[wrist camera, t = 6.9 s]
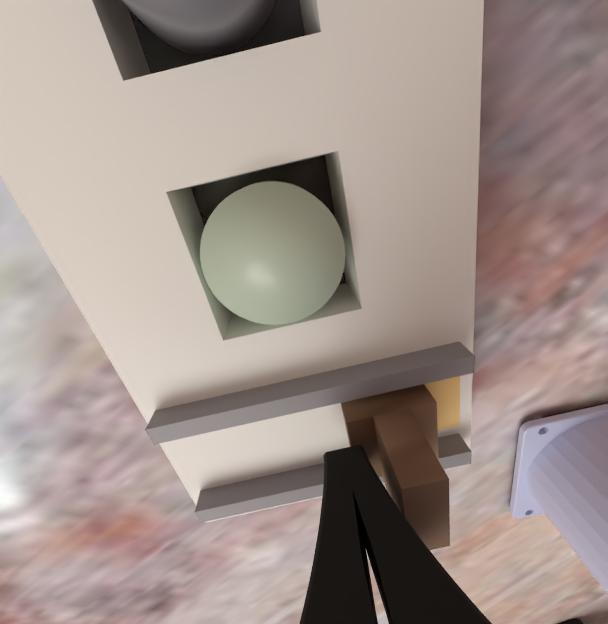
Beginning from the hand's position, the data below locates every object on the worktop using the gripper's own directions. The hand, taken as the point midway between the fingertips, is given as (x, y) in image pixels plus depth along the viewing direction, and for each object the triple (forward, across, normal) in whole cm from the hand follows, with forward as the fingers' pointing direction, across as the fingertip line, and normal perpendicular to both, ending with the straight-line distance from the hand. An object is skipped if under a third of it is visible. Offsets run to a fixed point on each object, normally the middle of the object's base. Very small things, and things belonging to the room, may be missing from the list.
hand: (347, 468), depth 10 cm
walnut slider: (+2, -2, 0) cm, 2 cm away
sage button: (+4, +1, -7) cm, 8 cm away
